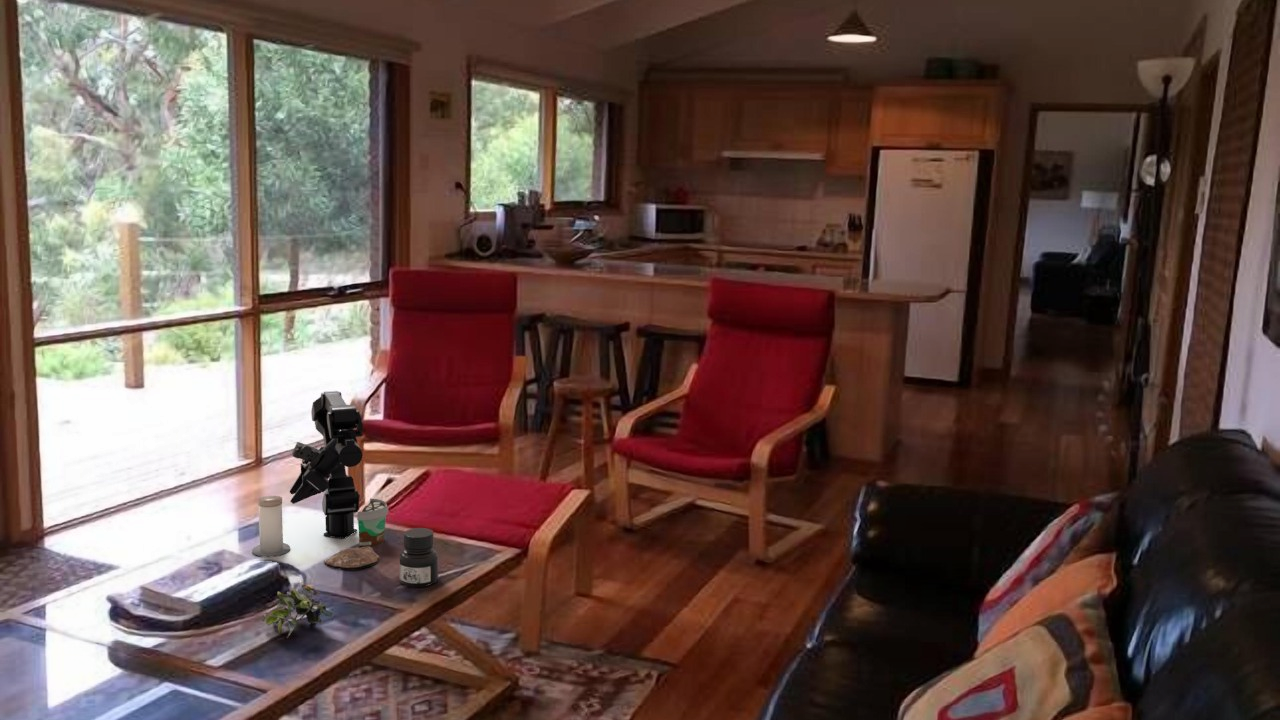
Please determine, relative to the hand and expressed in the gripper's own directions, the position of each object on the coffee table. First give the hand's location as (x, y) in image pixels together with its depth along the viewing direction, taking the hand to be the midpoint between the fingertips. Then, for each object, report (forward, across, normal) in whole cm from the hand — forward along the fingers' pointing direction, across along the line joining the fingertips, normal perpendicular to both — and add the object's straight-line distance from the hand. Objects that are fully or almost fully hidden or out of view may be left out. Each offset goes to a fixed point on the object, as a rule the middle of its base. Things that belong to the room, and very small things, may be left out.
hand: (291, 497), depth 260 cm
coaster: (+13, 0, +6) cm, 14 cm away
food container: (-5, 0, +24) cm, 25 cm away
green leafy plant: (+12, +49, +11) cm, 52 cm away
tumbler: (+13, 0, +6) cm, 14 cm away
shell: (0, +13, +20) cm, 24 cm away
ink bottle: (-9, +29, +30) cm, 43 cm away
